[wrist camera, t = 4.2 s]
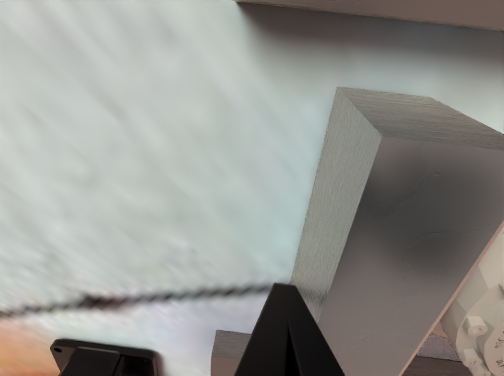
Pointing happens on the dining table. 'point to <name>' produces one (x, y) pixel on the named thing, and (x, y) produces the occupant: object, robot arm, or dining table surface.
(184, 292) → the dining table surface
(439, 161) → the block
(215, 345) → the vise
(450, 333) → the mechanical component
